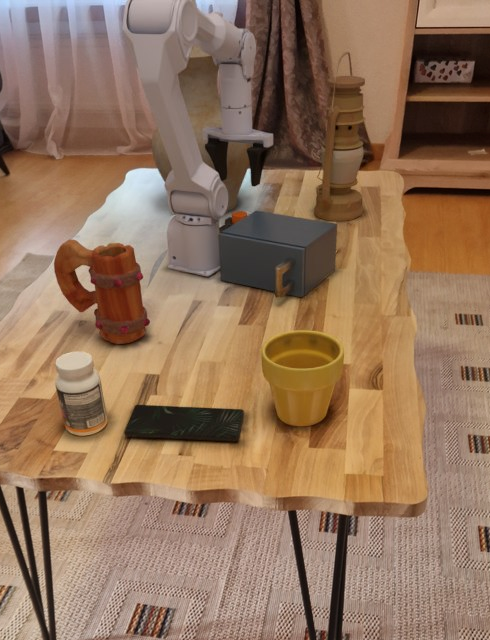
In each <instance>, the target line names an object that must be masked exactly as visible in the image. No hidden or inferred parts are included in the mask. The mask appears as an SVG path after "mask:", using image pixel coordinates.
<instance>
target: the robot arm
mask: <svg viewBox="0 0 490 640" xmlns="http://www.w3.org/2000/svg"><path fill="white" fill-rule="evenodd" d="M223 16H224V14H223V12H221V11H219V10H217V11H214V10H213V11H211V12H210V13H207V14H205V12H203V11H202V10H201V9H199V7H198V5H197V1H196V0H126V2H125V6H124V9H123V16H122V17H123V19H122V27H121V28H122V29H121V30H122V34H123V36H124V40H125V42H126V45H127V48H128V51H129V53H130V56H131V59H132V61H133V65H134V66H135V68H136V69H137V70H138V76H139V80H140V83H141V86H142V89H143V91H144V94H145V97H146V100H147V102H148V105H149V108H150V111H151V114H152V116H153V120H154V122H155V125H156V128H158V131H159V133H160V136H161V139H162V142H163V145H164V147H165V150H166V153H167V156H168V158H169V161H170V164H171V167H172V170H171V172H170V173H169V174H168V176H167V179H166V182H164V186H163V187H164V188H165V189H164V190H165V193H166V202H167V206H168V209H169V211H170V212H171V214H173V216H172V217H171V218H170V220H169V221H168V225H167V228H166V239H167V240H166V241H167V249H168V259H169V261H168V262H169V264H168V265H167V269H169V270H173V271H174V270H175V271H177V272H178V271H179V272H184V273H188V274H192V275H198V276H202V277H210V276H213V275H214V274H215V273H217V272H218V271H220V257H219V239H218V234H220V230H219V228H220V220H221V219H222V218H223V217H224V216H225V214H226V210H227V206H228V191H227V189H226V186H225V185H224V183H223V182H222V181H224V180H226V179H227V150H228V143H229V142H235V143H244V144H252V145H253V147H250V148H248V149H247V154H248V158H249V162H250V163H249V168H250V184H251V187H257V186H258V185H260V184H261V179H262V173H263V170H264V166H265V163H266V160H267V158H268V156H269V153H270V152H271V149H272V146H274V133H270V132H266V131H261V130H257V129H254V128H253V104H252V103H253V101H252V99H253V98H252V77H253V76H254V73H255V60H256V57H257V56H256V55H257V44H256V37H255V35H254V33H253V32H251V30H249V29H248V28H238V27H237V26H236V25H235V23H234V21H231V20H227V19H226V18H223ZM195 42H196V46H198V47H199V48H200V49H201V50H202V51H203V52H205V53H207V54H209V55H211V56H212V58H213V61H214V63H215V65H216V66H217V65H219V70H218V76H219V77H218V78H219V99H220V102H221V121H222V127H206V128H204V129H203V140H208V143H207V144H205V149H206V151H207V152H208V154H209V156H210V158H211V160H212V162H213V164H214V167H215V170H216V171H215V170H214V169H212V168H211V167H209V166H208V165H206V164H205V163H204V162H203V160H202V157H201V154H200V150H199V147H198V144H197V141H196V138H195V134H194V131H193V128H192V125H191V122H190V118H189V115H188V112H187V109H186V105H185V102H184V99H183V96H182V93H181V89H180V86H179V79H178V75H177V74H178V73H180V72H181V71H182V70H184V69H185V68H186V67H187V63H188V60H189V57H190V53H191V50H192V46H194V43H195Z"/></svg>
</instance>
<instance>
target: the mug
mask: <svg viewBox="0 0 490 640" xmlns="http://www.w3.org/2000/svg"><path fill="white" fill-rule="evenodd" d="M136 259H137V258H136V255H135V249H134V247H133V246H131V244H126V245H124V244H123V243H120V242H111V243H108V244H107V245H106V246H105V245H98V246H97V247H94V249H88V248H87V247H86V246H84V245H82V244H81V243H80V242H79V241H78V240H76V239H71V238H70V239H68V240H66V241H65V242H62V244H61V245H60V246H59V248H58V250H57V251H56V254H55V257H54V261H53V269H54V274H55V279H56V283H57V284H58V286H59V289H60V291H61V293H62V295H63V296H64V298H65V299H66V300H67V301H68V303H69V304H70V305H71V306H72V307H73V308H74V309H75V310H76V311H78V312H79V313H84V312H85V311H86V310H88V309H89V308H91V307H92V306H94V305H96V307H97V308H96V309H94V311H93V315H94V318H95V328H96V329H98V332H99V335H100V337H102V338H103V340H105V341H107V342H110V343H111V344H115V345H123V344H130V343H133V342H135V341H138V340H139V339H140V338H142V337H143V336H144V335H145V333H146V331H147V329H146V328H147V327H148V326H149V325H150V323H151V320H150V319H149V318H148V311H147V310H146V307H145V306H144V303H143V297H142V287H141V281H142V280H143V279H144V274H143V273H142V268H141V265H140V264H139V263H138V262H137V260H136ZM81 266H86V267H89V268H88V273H89V276H90V283H91V284H92V285H94V290H92V291H91V290H89V289H87V288H85V287H84V286H83V285H82V283H81V282H80V281H79V280H80V279H79V278H78V275H77V272H76V270H77V269H79V268H80V267H81Z"/></svg>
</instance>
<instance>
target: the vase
mask: <svg viewBox="0 0 490 640" xmlns="http://www.w3.org/2000/svg"><path fill="white" fill-rule="evenodd" d="M218 76H219V65H217V66H216V65H215V63H214V61H213V58H212V56H211V55H209V54H207V53H205V52H203V51H202V50H201V49H200V48H199V47H198V45H193V46H192V50H191V53H190V57H189V60H188V63H187V67H186V68H185V69H184V70H182V71H181V72H180V73H178V74H177V80H178V83H179V86H180V89H181V93H182V96H183V99H184V102H185V105H186V109H187V112H188V115H189V118H190V122H191V125H192V128H193V131H194V134H195V138H196V141H197V144H198V147H199V150H200V154H201V157H202V160H203V162H204V163H205V164H206V165H208V166H209V167H211V168H212V169H214V170H215V167H214V164H213V162H212V160H211V158H210V156H209V154H208V152H207V151H206V149H205V144H207V143H208V140H203V129H204V128H206V127H222V121H221V100H220V94H219V87H218V78H219V77H218ZM250 147H253V145H252V144H244V143H235V142H229V143H228V150H227V179H226V180H224V181H222V182H223V183H224V185H225V186H226V189H227V191H228V206H227V210H226V212H229V211H231V210H233V209H235V208H236V206H237V204H238V196H239V192H240V190H241V186H242V185H243V182H244V179H245V177H246V175H247V172H248V169H249V168H250V162H249V158H248V154H247V149H248V148H250ZM151 152H152V153H151V154H152V158H153V161H154V164H155V166H156V168H157V170H158V172H159V175H160V176H161V178H162V181H163V182H164V183H165V182H166V179H167V176H168V174H169V173H170V172H171V170H172V167H171V164H170V161H169V158H168V156H167V153H166V150H165V147H164V145H163V142H162V139H161V136H160V133H159V131H158V128H157V127H156V128H155V129H154V131H153V133H152V136H151ZM215 171H216V170H215ZM226 212H225V213H226Z"/></svg>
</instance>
